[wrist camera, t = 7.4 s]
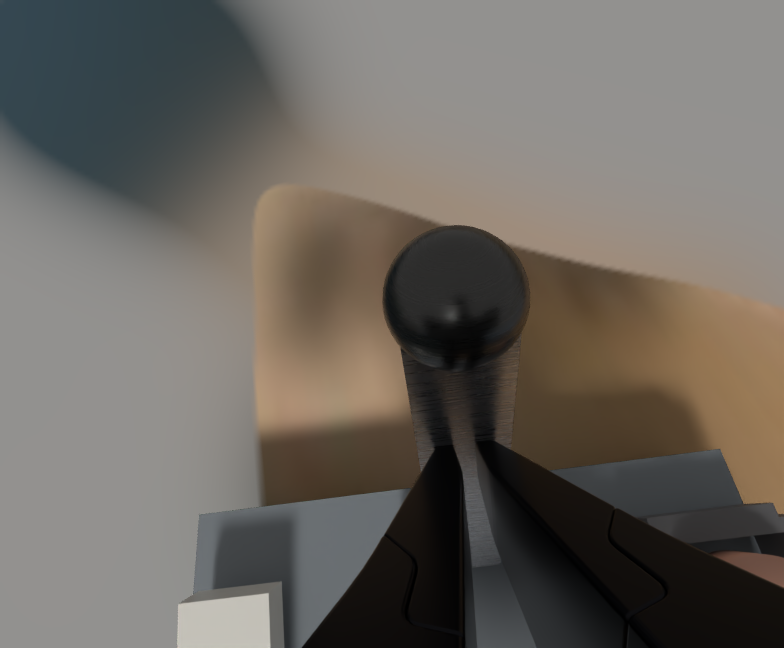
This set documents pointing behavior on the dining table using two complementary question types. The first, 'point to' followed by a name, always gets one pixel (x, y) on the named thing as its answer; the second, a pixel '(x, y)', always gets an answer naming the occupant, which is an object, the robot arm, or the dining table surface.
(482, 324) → the toggle lever
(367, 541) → the panel
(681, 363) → the dining table surface
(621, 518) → the robot arm
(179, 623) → the rocker switch
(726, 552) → the push button
